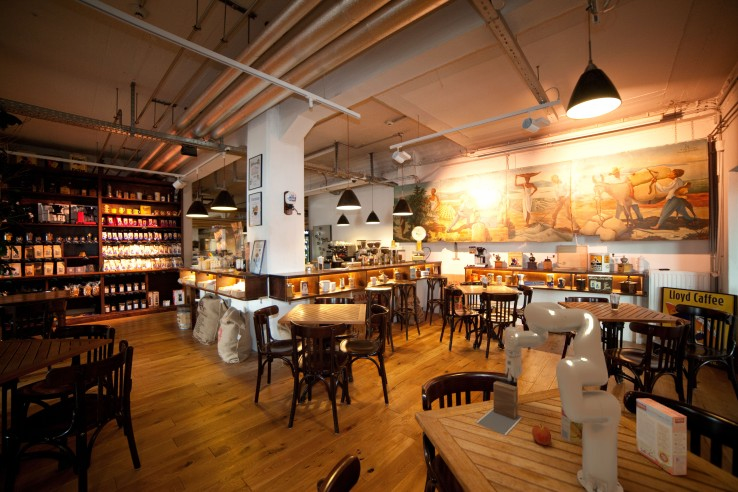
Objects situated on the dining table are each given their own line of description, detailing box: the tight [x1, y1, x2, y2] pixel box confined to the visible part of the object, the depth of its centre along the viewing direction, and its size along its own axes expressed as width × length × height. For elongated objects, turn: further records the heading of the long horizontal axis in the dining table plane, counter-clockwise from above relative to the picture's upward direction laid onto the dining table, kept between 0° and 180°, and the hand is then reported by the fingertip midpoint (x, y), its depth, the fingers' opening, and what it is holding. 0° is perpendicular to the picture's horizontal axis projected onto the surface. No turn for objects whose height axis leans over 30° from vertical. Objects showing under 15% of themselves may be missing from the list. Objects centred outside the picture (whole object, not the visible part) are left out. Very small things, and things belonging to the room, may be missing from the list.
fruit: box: [531, 423, 552, 446], centre depth 128 cm, size 7×7×8 cm
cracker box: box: [635, 397, 688, 476], centre depth 117 cm, size 14×6×21 cm, turn 4°
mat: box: [475, 406, 524, 437], centre depth 144 cm, size 20×14×1 cm
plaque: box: [493, 380, 519, 420], centre depth 149 cm, size 4×10×14 cm, turn 45°
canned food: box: [560, 406, 584, 445], centre depth 132 cm, size 8×8×12 cm
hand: (513, 389), depth 156 cm, fingers closed
